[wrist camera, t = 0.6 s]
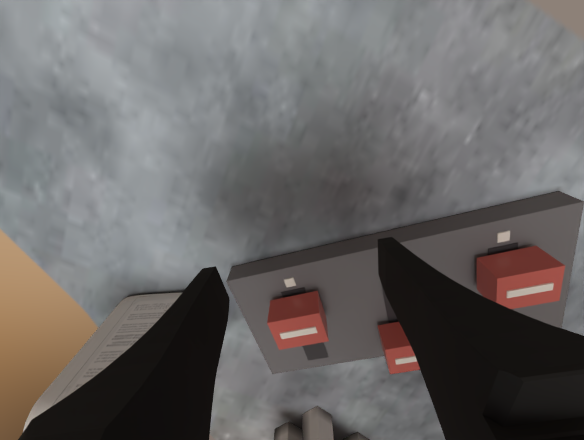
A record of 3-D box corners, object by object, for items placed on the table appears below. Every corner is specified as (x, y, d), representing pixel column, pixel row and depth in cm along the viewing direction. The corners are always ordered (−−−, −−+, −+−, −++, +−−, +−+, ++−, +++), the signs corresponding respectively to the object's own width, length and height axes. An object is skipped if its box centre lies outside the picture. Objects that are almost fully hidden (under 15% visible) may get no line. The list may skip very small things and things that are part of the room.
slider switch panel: (543, 309, 25) (562, 328, 23) (274, 356, 29) (272, 375, 27) (558, 191, 20) (585, 202, 18) (232, 266, 24) (226, 282, 22)
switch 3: (532, 278, 21) (560, 301, 19) (476, 288, 21) (496, 312, 19) (536, 245, 20) (566, 266, 17) (476, 257, 20) (498, 279, 18)
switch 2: (428, 341, 24) (441, 367, 22) (382, 348, 25) (390, 375, 23) (425, 316, 23) (439, 342, 21) (377, 325, 24) (385, 351, 21)
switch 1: (326, 317, 23) (328, 342, 21) (281, 325, 24) (279, 351, 22) (317, 290, 22) (319, 314, 20) (270, 300, 23) (266, 324, 20)
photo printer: (134, 325, 28) (24, 484, 17) (118, 292, 26) (-18, 447, 15) (233, 319, 27) (185, 482, 16) (223, 285, 25) (162, 443, 14)
